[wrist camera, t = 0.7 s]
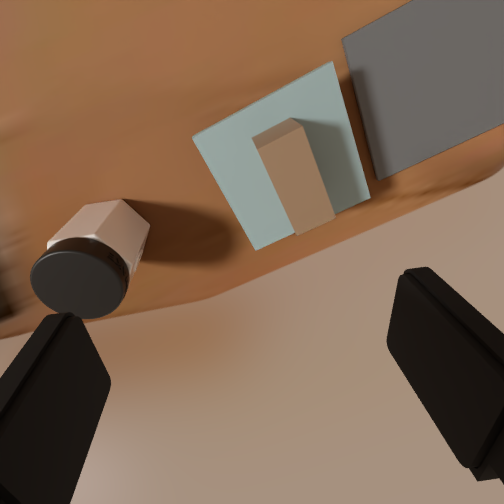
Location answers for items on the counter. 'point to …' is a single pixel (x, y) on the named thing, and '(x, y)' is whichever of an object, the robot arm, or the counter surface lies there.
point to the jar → (91, 260)
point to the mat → (427, 78)
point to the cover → (287, 159)
